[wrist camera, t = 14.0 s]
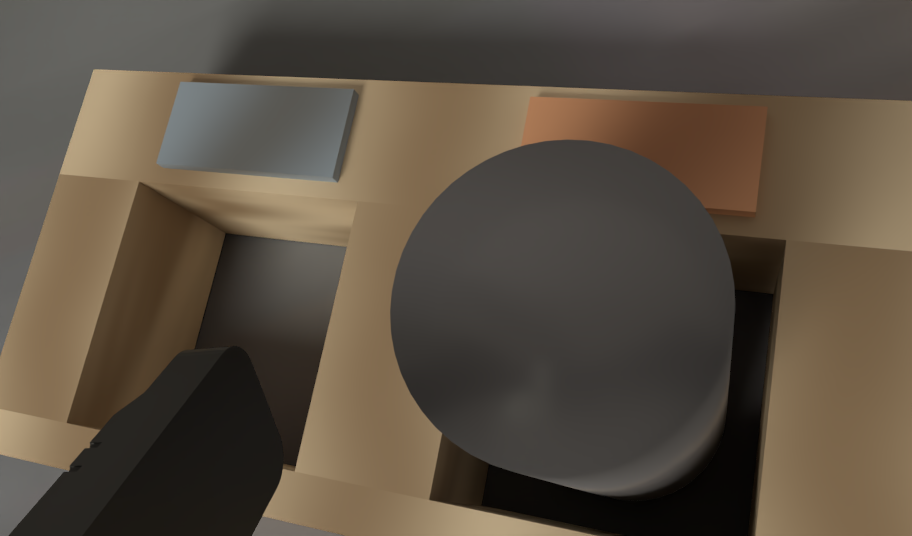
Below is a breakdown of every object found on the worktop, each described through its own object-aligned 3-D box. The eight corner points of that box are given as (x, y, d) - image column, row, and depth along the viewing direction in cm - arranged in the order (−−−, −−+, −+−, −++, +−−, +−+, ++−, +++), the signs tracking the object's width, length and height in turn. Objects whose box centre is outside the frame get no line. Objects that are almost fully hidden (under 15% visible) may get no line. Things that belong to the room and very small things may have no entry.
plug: (500, 410, 21) (327, 316, 12) (620, 278, 21) (543, 80, 12) (638, 543, 19) (563, 558, 10) (768, 398, 19) (815, 277, 10)
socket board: (86, 459, 24) (-40, 446, 20) (181, 134, 26) (86, 63, 22) (869, 638, 17) (913, 671, 13) (901, 182, 19) (947, 94, 16)
